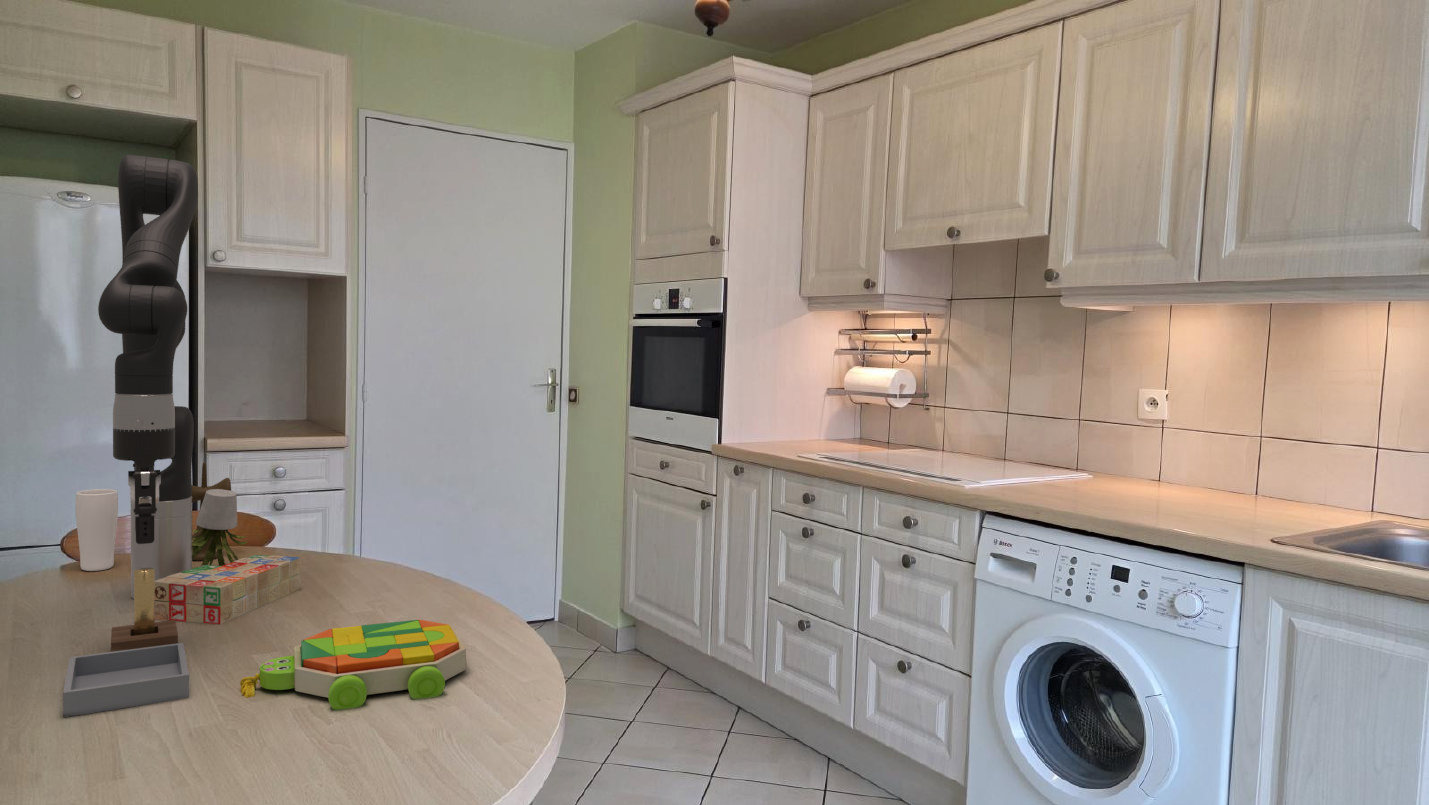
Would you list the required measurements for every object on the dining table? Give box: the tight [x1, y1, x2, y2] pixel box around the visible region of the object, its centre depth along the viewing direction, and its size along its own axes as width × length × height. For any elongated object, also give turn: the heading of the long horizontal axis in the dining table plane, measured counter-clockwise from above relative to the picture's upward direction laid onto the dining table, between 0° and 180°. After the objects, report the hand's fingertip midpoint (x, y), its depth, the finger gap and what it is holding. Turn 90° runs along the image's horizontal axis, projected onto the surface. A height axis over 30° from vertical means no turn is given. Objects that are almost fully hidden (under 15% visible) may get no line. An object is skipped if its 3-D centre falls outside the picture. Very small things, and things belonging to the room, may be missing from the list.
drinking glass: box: [74, 488, 119, 572], centre depth 175 cm, size 7×7×15 cm
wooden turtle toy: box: [239, 619, 467, 711], centre depth 123 cm, size 22×28×6 cm
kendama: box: [192, 461, 232, 562], centre depth 184 cm, size 6×10×20 cm, turn 123°
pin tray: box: [62, 642, 190, 718], centre depth 118 cm, size 14×13×3 cm
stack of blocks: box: [155, 554, 301, 625], centre depth 155 cm, size 21×6×12 cm
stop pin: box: [133, 568, 156, 636], centre depth 131 cm, size 2×2×12 cm
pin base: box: [110, 620, 179, 652], centre depth 131 cm, size 8×8×3 cm
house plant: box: [192, 489, 248, 566], centre depth 174 cm, size 14×14×16 cm
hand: (144, 537), depth 130 cm, fingers open, 8 cm apart
